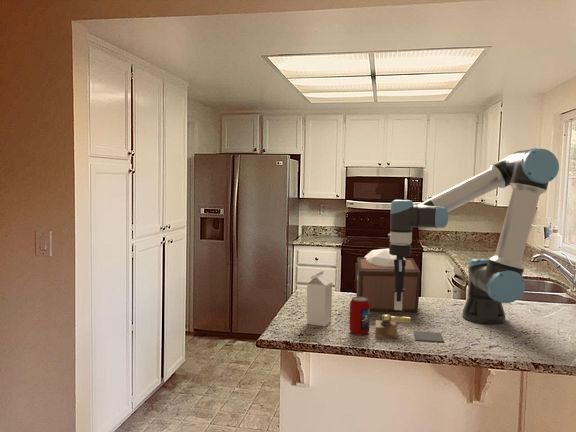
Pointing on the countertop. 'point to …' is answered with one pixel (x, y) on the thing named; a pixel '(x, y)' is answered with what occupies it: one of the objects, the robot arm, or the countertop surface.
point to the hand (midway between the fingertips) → (398, 309)
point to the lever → (395, 319)
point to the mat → (428, 336)
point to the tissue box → (386, 281)
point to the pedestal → (386, 330)
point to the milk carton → (319, 300)
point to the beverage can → (359, 315)
